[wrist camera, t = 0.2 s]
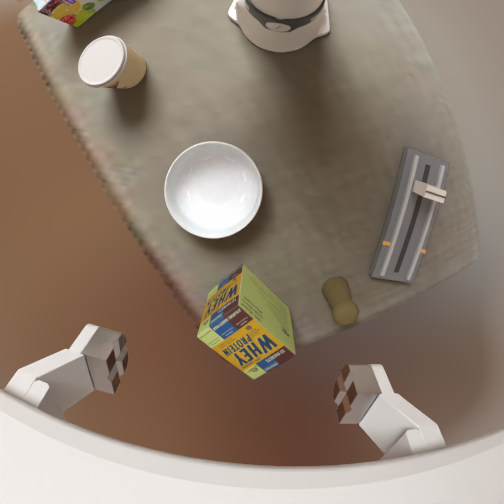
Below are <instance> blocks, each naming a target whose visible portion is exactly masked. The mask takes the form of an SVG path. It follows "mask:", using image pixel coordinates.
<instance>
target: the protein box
mask: <svg viewBox="0 0 504 504" xmlns="http://www.w3.org/2000/svg"><path fill="white" fill-rule="evenodd" d="M197 337H198V338H199V339H200V340H202V341H203V342H204V343H206V344H207V345H208V346H209V347H211V348H212V349H213V350H215V351H216V352H217V353H219V354H220V355H221V356H222V357H224V358H225V359H226V360H228V361H229V362H230V363H232V364H233V365H235V366H236V367H237V368H239V369H240V370H241V371H243V372H244V373H245V374H247V375H248V376H250V377H251V378H253V379H256V378H258V377H260V376H262V375H263V374H265V373H266V372H268V371H270V370H271V369H273V368H275V367H276V366H278V365H280V364H282V363H283V362H285V361H287V360H288V359H290V358H292V357H293V356H295V355H296V352H295V345H294V337H293V330H292V323H291V316H290V309H289V308H288V307H287V306H286V305H285V304H284V303H283V302H282V301H281V300H280V299H279V298H278V297H277V296H276V295H275V294H274V293H273V292H272V291H271V290H270V289H269V288H267V287H266V286H265V285H264V284H263V283H262V282H261V281H260V280H259V279H258V278H257V277H256V276H255V275H254V274H253V273H252V272H251V271H250V270H249V269H248V268H247V267H246V266H245V265H244V264H242V265H241V266H240V267H239V268H237V269H236V270H235V271H234V272H233V273H231V274H230V275H229V276H228V277H226V278H225V279H224V280H223V281H221V282H220V283H219V284H218V285H217V286H215V287H214V288H213V289H212V290H211V291H209V294H208V298H207V302H206V305H205V309H204V313H203V317H202V320H201V324H200V328H199V331H198V335H197Z"/></svg>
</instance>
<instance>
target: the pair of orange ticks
mask: <svg viewBox="0 0 504 504" xmlns="http://www.w3.org/2000/svg"><path fill="white" fill-rule="evenodd" d="M390 244H391V242H388V241H383V243H382V245H386V246H390ZM425 252H426V250H425V249H421V252H420V253H425Z"/></svg>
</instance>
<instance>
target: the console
mask: <svg viewBox="0 0 504 504" xmlns="http://www.w3.org/2000/svg"><path fill="white" fill-rule="evenodd" d="M449 165H450V163H448V162H445V161H443V160H440V159H438V158H435V157H433V156H430V155H428V154H425V153H422V152H420V151H417V150H414V149H411V148H409V147H404V149H403V154H402V158H401V163H400V167H399V171H398V175H397V180H396V184H395V188H394V191H393V195H392V199H391V203H390V206H389V210H388V214H387V217H386V221H385V224H384V227H383V231H382V234H381V237H380V240H379V244H378V247H377V250H376V253H375V256H374V259H373V262H372V265H371V268H370V271H369V274H370V275H371V277H375V278H381V279H388V280H395V281H401V282H408V283H412V282H413V280H414V277H415V275H416V272H417V270H418V267H419V265H420V262H421V259H422V256H423V254H424V253H420V252H421V249H425V248H426V245H427V242H428V239H429V236H430V233H431V230H432V227H433V224H434V221H435V218H436V214H437V211H438V207H439V204H440V202H438V201H435V200H432V199H428V198H425V197H423V196H421V195H419V194H417V193H415V192H413V191H412V190H413V186H414V182H415V180H417V181H421V182H424V183H426V184H429V185H432V186H435V187H437V188H440V189H442V190H443V189H444V185H445V181H446V177H447V173H448V169H449ZM383 241H388V242H391V244H390V246H386V245H382V243H383Z"/></svg>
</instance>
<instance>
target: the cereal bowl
mask: <svg viewBox="0 0 504 504" xmlns="http://www.w3.org/2000/svg"><path fill="white" fill-rule="evenodd" d="M262 194H263V186H262V179H261V174H260V172H259V170H258V167H257V166H256V164H255V162H254V161H253V160H252V159H251V157H250V156H249V155H248V154H247V153H245V152H244V151H243V150H241V149H240V148H238V147H236V146H234V145H232V144H229V143H224V142H217V141H212V142H211V141H209V142H203V143H200V144H197V145H194V146H192V147H190V148H188V149H186V150H185V151H184V152H183V153H181V154H180V155H179V156H178V157H177V158H176V159H175V161H174V162H173V164H172V165H171V167H170V169H169V171H168V173H167V176H166V180H165V187H164V195H165V201H166V204H167V207H168V210H169V212H170V213H171V215H172V217H173V218H174V219H175V221H176V222H177V223H178V224H179V225H180V226H181V227H182V228H183V229H185V230H186V231H188V232H190V233H192V234H194V235H196V236H199V237H203V238H223V237H227V236H230V235H233V234H235V233H237V232H238V231H240V230H242V229H243V228H244V227H246V226H247V225H248V224H249V223H250V222H251V220H252V219H253V218H254V216H255V215H256V213H257V211H258V209H259V207H260V204H261V200H262Z"/></svg>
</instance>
